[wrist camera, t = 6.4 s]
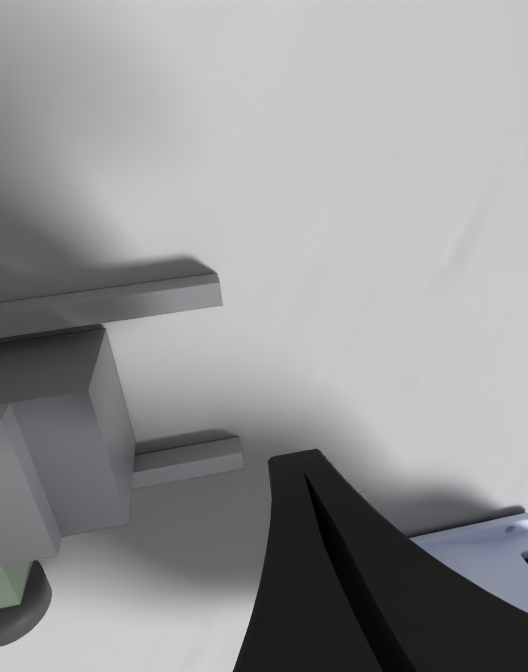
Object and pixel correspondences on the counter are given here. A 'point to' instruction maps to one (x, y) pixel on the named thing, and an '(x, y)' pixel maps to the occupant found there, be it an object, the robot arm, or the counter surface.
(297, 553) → the robot arm
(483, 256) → the counter surface
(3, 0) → the counter surface
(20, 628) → the mower deck
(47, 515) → the grey block on ledge
